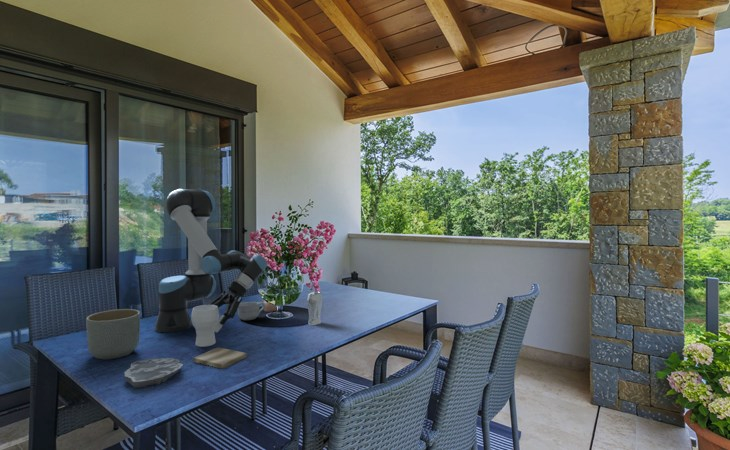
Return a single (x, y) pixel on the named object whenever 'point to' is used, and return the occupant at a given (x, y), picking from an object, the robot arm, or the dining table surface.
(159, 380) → the brain slice
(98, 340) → the planter
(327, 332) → the dining table surface
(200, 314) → the cup
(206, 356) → the oak board
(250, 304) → the teacup
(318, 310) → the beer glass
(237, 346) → the dining table surface
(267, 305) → the tealight holder
